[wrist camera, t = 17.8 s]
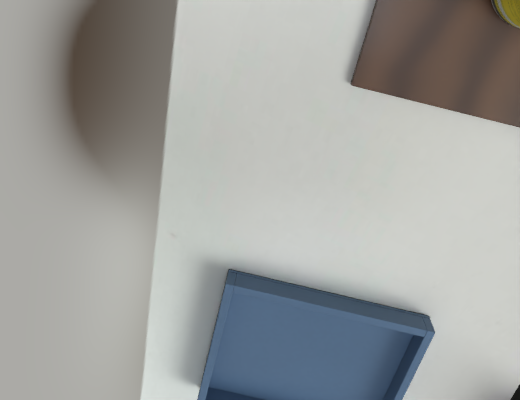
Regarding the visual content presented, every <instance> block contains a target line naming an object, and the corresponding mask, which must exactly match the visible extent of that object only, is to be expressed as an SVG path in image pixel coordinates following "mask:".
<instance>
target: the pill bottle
mask: <svg viewBox="0 0 520 400" xmlns="http://www.w3.org/2000/svg"><path fill="white" fill-rule="evenodd" d="M491 2H492V5H493V7H494V9H495V11H496V13H497V14H498V15H499V17H500V18H501V19H502V20H504V21H505V22H506V23H508V24H509V25H511V26H513V27H516V28H519V29H520V0H491Z"/></svg>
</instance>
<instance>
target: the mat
mask: <svg viewBox="0 0 520 400" xmlns="http://www.w3.org/2000/svg"><path fill="white" fill-rule="evenodd" d="M351 85H352V86H356V87H360V88H364V89H368V90H372V91H376V92H380V93H384V94H388V95H392V96H396V97H400V98H404V99H408V100H412V101H416V102H420V103H424V104H428V105H432V106H436V107H440V108H444V109H448V110H452V111H456V112H460V113H464V114H468V115H472V116H476V117H480V118H484V119H488V120H492V121H496V122H500V123H504V124H508V125H512V126H516V127H520V29H519V28H516V27H513V26H511V25H509V24H508V23H506V22H505V21H504V20H502V19H501V18H500V17H499V15H498V14H497V13H496V11H495V9H494V7H493V5H492V2H491V0H377V1H376V4H375V7H374V10H373V13H372V17H371V20H370V23H369V26H368V30H367V33H366V36H365V39H364V42H363V46H362V49H361V52H360V55H359V59H358V62H357V65H356V68H355V71H354V75H353V78H352V81H351Z"/></svg>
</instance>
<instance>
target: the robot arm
mask: <svg viewBox="0 0 520 400" xmlns="http://www.w3.org/2000/svg"><path fill="white" fill-rule="evenodd" d="M511 400H520V385H519V386H518V388H517V390H516V391H515V393H514V395H513V396H512V398H511Z"/></svg>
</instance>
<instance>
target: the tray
mask: <svg viewBox="0 0 520 400" xmlns="http://www.w3.org/2000/svg"><path fill="white" fill-rule="evenodd" d="M434 334H435V331H434V328H433V326H432V323H431V320H430V317H429V316H427V315H422V314H418V313H414V312H410V311H405V310H401V309H397V308H392V307H388V306H384V305H380V304H375V303H371V302H367V301H363V300H358V299H354V298H350V297H346V296H341V295H337V294H333V293H328V292H324V291H320V290H316V289H311V288H307V287H303V286H299V285H294V284H290V283H286V282H282V281H277V280H273V279H269V278H264V277H260V276H256V275H252V274H247V273H243V272H239V271H235V270H230V269H229V271H228V275H227V279H226V283H225V287H224V291H223V296H222V300H221V304H220V308H219V312H218V316H217V320H216V324H215V329H214V333H213V337H212V341H211V345H210V349H209V353H208V358H207V362H206V366H205V370H204V374H203V378H202V382H201V386H200V391H199V395H198V399H197V400H402V399H403V397H404V395H405V393H406V391H407V389H408V387H409V385H410V383H411V381H412V379H413V377H414V375H415V372H416V370H417V368H418V366H419V364H420V362H421V360H422V358H423V356H424V354H425V352H426V350H427V348H428V346H429V344H430V342H431V340H432V338H433V336H434Z"/></svg>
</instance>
